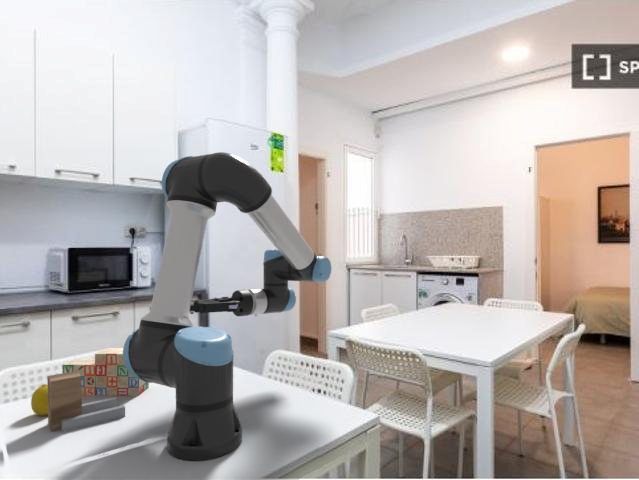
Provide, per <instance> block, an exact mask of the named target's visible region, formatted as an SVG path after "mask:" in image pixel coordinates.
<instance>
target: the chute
mask: <svg viewBox="0 0 639 480" xmlns="http://www.w3.org/2000/svg"><path fill="white" fill-rule="evenodd" d="M124 417H126V406H125V405H124V404H122V405H118V399H117V397H116V396H112V397H108V398H104V399H98V400H95V401H90V402H87V403H82V415H79V416H75V417H71V418H66V419H62V420H61V429H60V430H61V432H62V433H65V432H70V431H73V430H76V429H81V428H85V427H89V426H93V425H96V424H100V423H105V422H108V421H113V420H115V419H116V420H117V419H120V418H124Z"/></svg>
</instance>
